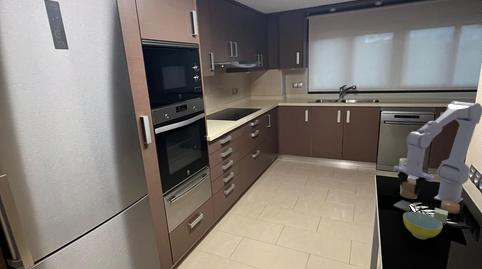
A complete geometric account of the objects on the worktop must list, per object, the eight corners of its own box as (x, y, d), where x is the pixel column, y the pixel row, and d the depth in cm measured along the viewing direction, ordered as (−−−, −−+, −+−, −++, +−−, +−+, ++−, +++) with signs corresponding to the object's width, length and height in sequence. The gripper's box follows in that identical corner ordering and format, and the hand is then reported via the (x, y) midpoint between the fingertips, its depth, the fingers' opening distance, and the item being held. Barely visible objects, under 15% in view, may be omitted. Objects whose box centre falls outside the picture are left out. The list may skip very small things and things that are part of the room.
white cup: (400, 197, 120) (403, 177, 117) (397, 190, 127) (400, 171, 125) (420, 200, 117) (423, 179, 115) (416, 193, 124) (419, 173, 122)
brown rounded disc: (443, 205, 113) (445, 198, 112) (460, 211, 108) (462, 204, 107) (438, 209, 110) (439, 202, 109) (455, 215, 105) (457, 208, 104)
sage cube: (433, 216, 104) (435, 207, 103) (446, 220, 101) (448, 211, 100) (432, 221, 101) (434, 211, 100) (445, 224, 98) (447, 215, 97)
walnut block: (406, 192, 113) (408, 179, 112) (417, 196, 109) (419, 183, 108) (400, 195, 111) (402, 181, 109) (412, 199, 107) (414, 185, 106)
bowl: (434, 230, 95) (437, 215, 93) (443, 249, 84) (447, 232, 83) (399, 223, 99) (401, 208, 98) (403, 240, 89) (405, 224, 88)
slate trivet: (402, 200, 117) (402, 199, 117) (422, 208, 110) (422, 207, 110) (393, 205, 112) (393, 204, 112) (413, 213, 106) (413, 212, 106)
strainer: (413, 185, 132) (417, 157, 129) (411, 190, 127) (416, 161, 123) (397, 182, 136) (401, 155, 133) (395, 186, 131) (399, 158, 128)
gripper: (391, 158, 110) (387, 187, 113) (430, 168, 99) (425, 200, 102) (399, 155, 114) (395, 184, 117) (438, 164, 102) (432, 196, 105)
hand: (409, 191), depth 110 cm, fingers closed on walnut block, 4 cm apart
